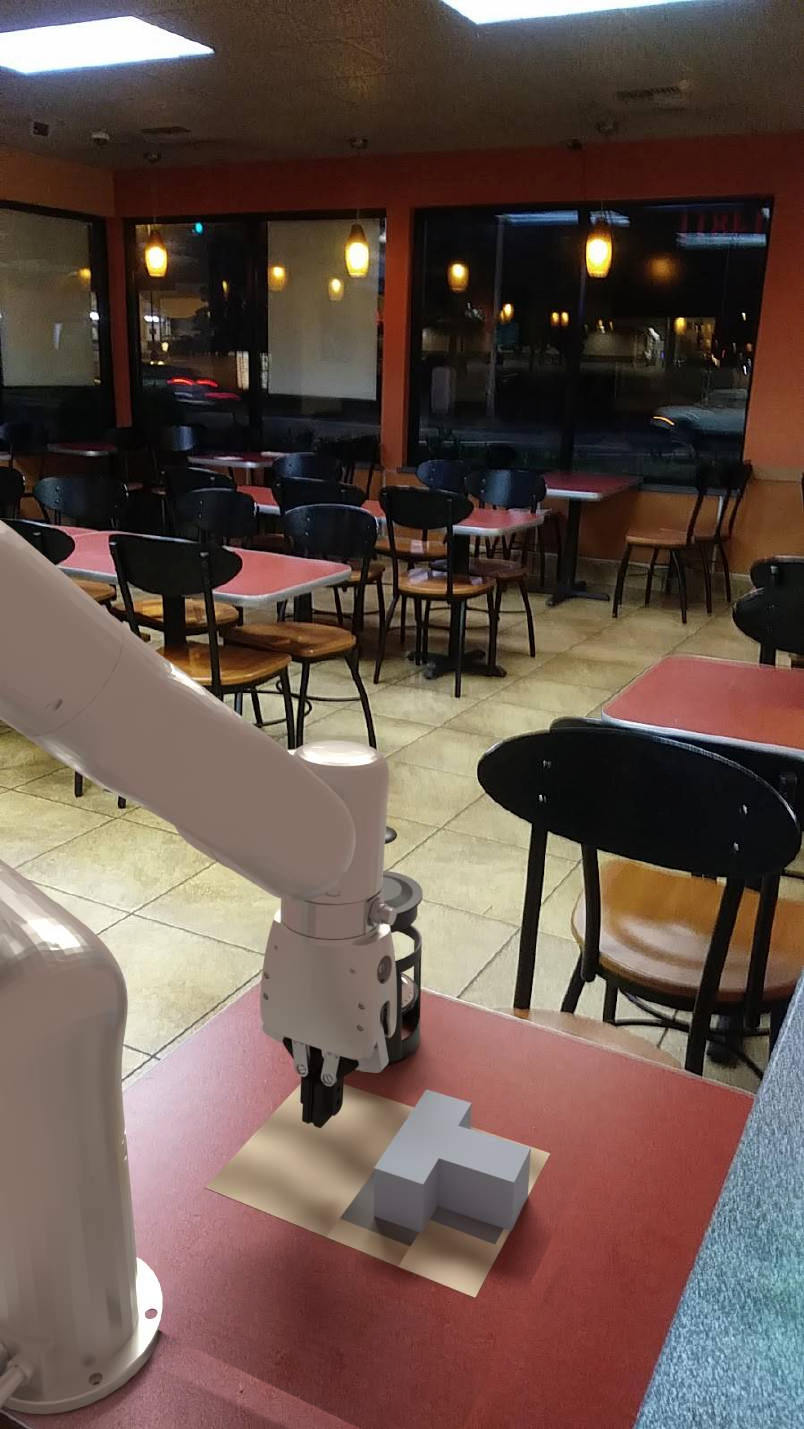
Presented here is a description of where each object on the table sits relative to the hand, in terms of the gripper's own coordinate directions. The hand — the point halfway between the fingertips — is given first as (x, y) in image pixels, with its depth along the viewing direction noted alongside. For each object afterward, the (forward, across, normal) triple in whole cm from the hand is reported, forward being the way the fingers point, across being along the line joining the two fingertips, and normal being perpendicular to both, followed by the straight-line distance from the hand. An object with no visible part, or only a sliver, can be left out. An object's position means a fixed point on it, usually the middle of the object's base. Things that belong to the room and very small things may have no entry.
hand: (320, 1115), depth 85 cm
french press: (+5, +4, -17) cm, 18 cm away
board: (+6, -5, -2) cm, 8 cm away
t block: (+4, -11, -3) cm, 12 cm away
